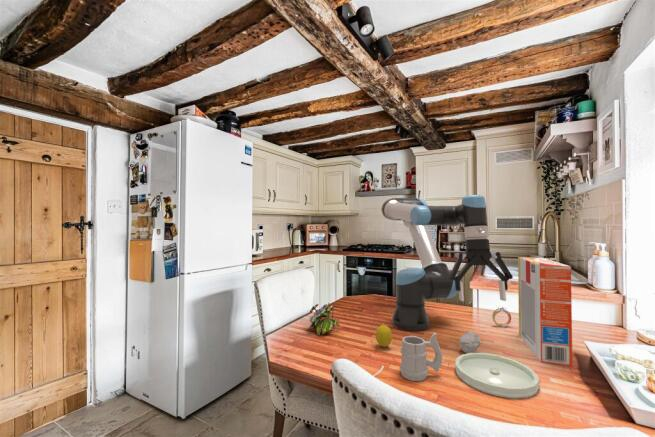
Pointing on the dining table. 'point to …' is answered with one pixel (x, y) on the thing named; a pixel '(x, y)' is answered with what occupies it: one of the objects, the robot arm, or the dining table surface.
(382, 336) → the lemon
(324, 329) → the leafy green plant
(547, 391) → the dining table surface
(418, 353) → the mug
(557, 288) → the cereal box
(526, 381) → the groove dish
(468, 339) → the grey round lump
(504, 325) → the ring
